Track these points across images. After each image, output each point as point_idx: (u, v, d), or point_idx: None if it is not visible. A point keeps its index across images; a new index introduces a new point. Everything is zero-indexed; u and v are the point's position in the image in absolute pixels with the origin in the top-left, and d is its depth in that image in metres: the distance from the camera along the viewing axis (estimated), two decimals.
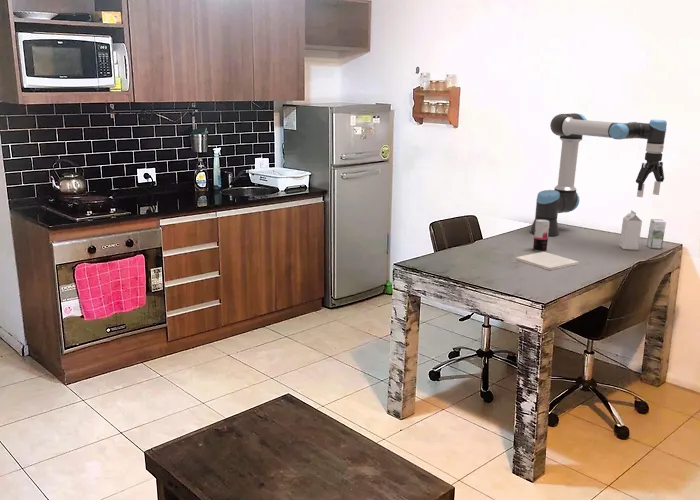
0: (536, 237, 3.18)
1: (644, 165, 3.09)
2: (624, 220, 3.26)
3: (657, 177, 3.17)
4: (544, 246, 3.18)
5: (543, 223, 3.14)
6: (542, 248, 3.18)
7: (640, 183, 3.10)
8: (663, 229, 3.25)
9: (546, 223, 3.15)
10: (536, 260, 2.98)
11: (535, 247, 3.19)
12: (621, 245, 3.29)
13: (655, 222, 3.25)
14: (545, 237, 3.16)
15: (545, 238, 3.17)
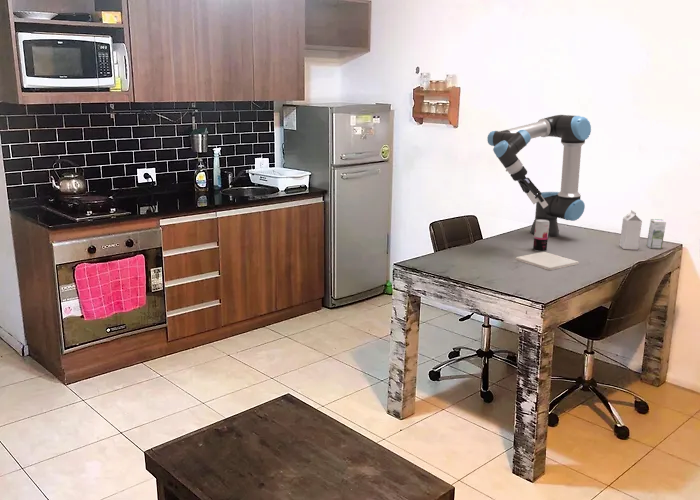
0: (536, 237, 3.18)
1: None
2: (624, 220, 3.26)
3: None
4: (544, 246, 3.18)
5: (543, 223, 3.14)
6: (542, 248, 3.18)
7: None
8: (663, 229, 3.25)
9: (546, 223, 3.15)
10: (536, 260, 2.98)
11: (535, 247, 3.19)
12: (621, 245, 3.29)
13: (655, 222, 3.25)
14: (545, 237, 3.16)
15: (545, 238, 3.17)
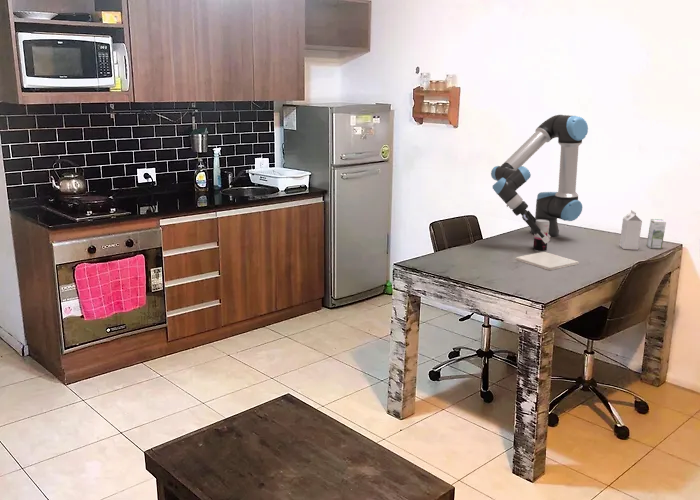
0: (536, 237, 3.18)
1: None
2: (624, 220, 3.26)
3: None
4: (544, 246, 3.18)
5: (543, 223, 3.14)
6: (542, 248, 3.18)
7: None
8: (663, 229, 3.25)
9: (546, 223, 3.15)
10: (536, 260, 2.98)
11: (535, 247, 3.19)
12: (621, 245, 3.29)
13: (655, 222, 3.25)
14: None
15: None
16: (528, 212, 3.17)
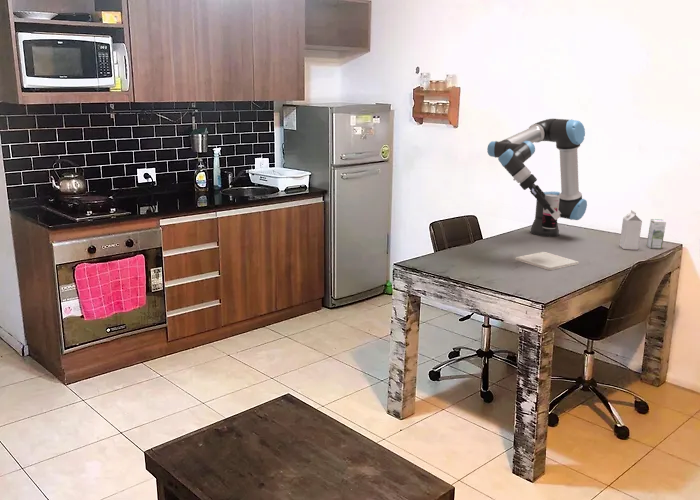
0: (545, 213, 2.93)
1: None
2: (624, 220, 3.26)
3: None
4: (554, 223, 2.93)
5: (553, 198, 2.90)
6: (552, 225, 2.93)
7: None
8: (663, 229, 3.25)
9: (556, 198, 2.90)
10: (536, 260, 2.98)
11: (544, 224, 2.95)
12: (621, 245, 3.29)
13: (655, 222, 3.25)
14: None
15: None
16: (537, 186, 2.93)
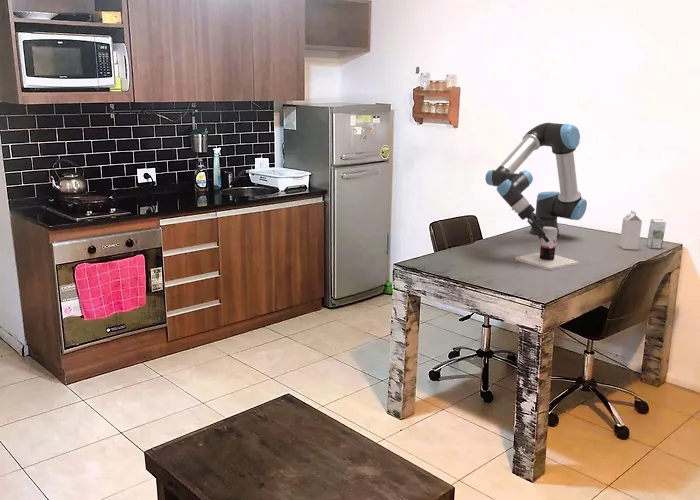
0: (543, 245, 2.97)
1: None
2: (624, 220, 3.26)
3: None
4: (551, 255, 2.97)
5: (551, 231, 2.94)
6: (550, 257, 2.97)
7: None
8: (663, 229, 3.25)
9: (554, 231, 2.94)
10: (536, 260, 2.98)
11: (542, 256, 2.98)
12: (621, 245, 3.29)
13: (655, 222, 3.25)
14: None
15: (553, 247, 2.96)
16: (535, 216, 2.96)
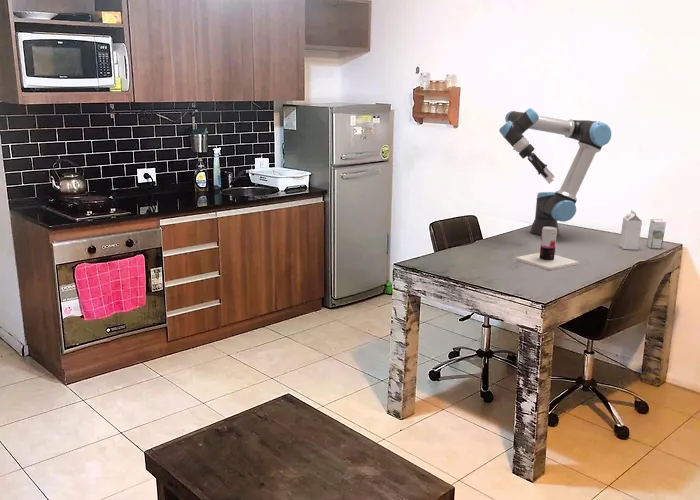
0: (543, 245, 2.97)
1: None
2: (624, 220, 3.26)
3: None
4: (551, 255, 2.97)
5: (550, 231, 2.94)
6: (550, 257, 2.97)
7: (543, 168, 3.30)
8: (663, 229, 3.25)
9: (554, 231, 2.94)
10: (536, 260, 2.98)
11: (542, 256, 2.98)
12: (621, 245, 3.29)
13: (655, 222, 3.25)
14: (552, 245, 2.96)
15: (552, 247, 2.96)
16: (534, 154, 3.21)
